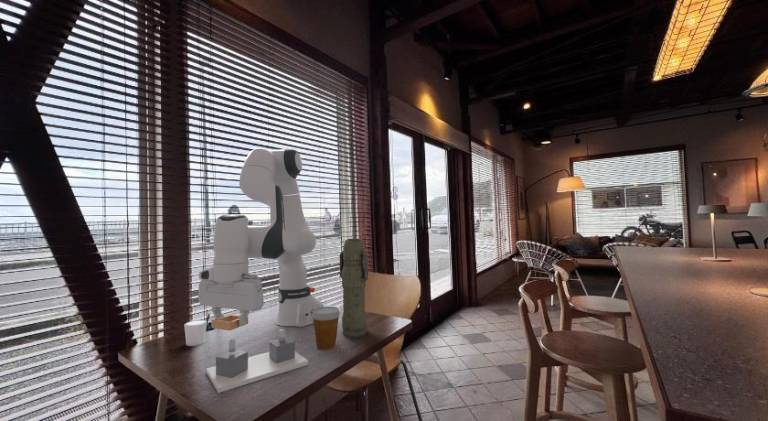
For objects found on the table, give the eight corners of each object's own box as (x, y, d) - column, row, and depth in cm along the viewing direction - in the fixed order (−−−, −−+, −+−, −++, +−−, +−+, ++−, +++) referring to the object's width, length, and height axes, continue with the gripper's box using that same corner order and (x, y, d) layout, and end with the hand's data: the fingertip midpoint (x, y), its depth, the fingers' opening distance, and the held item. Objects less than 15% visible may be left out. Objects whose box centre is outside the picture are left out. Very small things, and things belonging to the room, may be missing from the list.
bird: (191, 326, 126) (207, 311, 131) (195, 334, 131) (211, 319, 136) (206, 337, 124) (222, 321, 130) (210, 345, 129) (225, 329, 135)
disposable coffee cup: (329, 338, 117) (329, 304, 117) (346, 346, 110) (345, 309, 110) (306, 346, 110) (305, 310, 110) (322, 354, 103) (321, 316, 104)
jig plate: (288, 350, 107) (288, 319, 107) (308, 364, 96) (307, 330, 96) (206, 372, 92) (206, 336, 92) (218, 392, 81) (218, 351, 81)
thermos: (346, 327, 128) (345, 238, 129) (373, 331, 124) (372, 238, 125) (334, 335, 120) (333, 239, 121) (363, 339, 116) (362, 240, 117)
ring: (230, 321, 94) (230, 314, 94) (248, 323, 92) (248, 316, 92) (211, 327, 88) (211, 320, 88) (229, 330, 86) (229, 323, 86)
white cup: (196, 347, 111) (196, 326, 111) (179, 345, 112) (179, 325, 112) (211, 339, 117) (211, 320, 118) (194, 338, 119) (194, 319, 119)
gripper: (269, 273, 89) (268, 325, 89) (213, 269, 97) (212, 317, 96) (252, 277, 83) (251, 332, 83) (194, 272, 91) (193, 323, 90)
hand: (230, 324), depth 90 cm, fingers closed on ring, 6 cm apart
